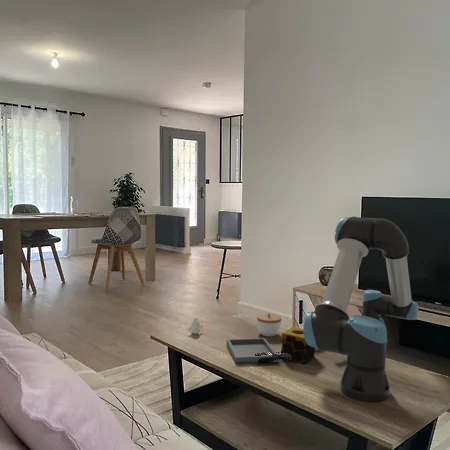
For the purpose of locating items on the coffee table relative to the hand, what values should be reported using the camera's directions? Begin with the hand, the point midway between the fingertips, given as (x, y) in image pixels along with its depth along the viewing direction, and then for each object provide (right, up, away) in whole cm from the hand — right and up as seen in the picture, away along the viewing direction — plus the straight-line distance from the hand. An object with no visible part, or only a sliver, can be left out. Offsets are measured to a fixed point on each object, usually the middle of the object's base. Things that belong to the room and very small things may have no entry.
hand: (317, 338), depth 175 cm
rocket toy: (-49, -4, +21) cm, 54 cm away
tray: (-26, -6, -2) cm, 27 cm away
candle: (-8, -7, -5) cm, 12 cm away
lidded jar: (-17, -4, +22) cm, 28 cm away
